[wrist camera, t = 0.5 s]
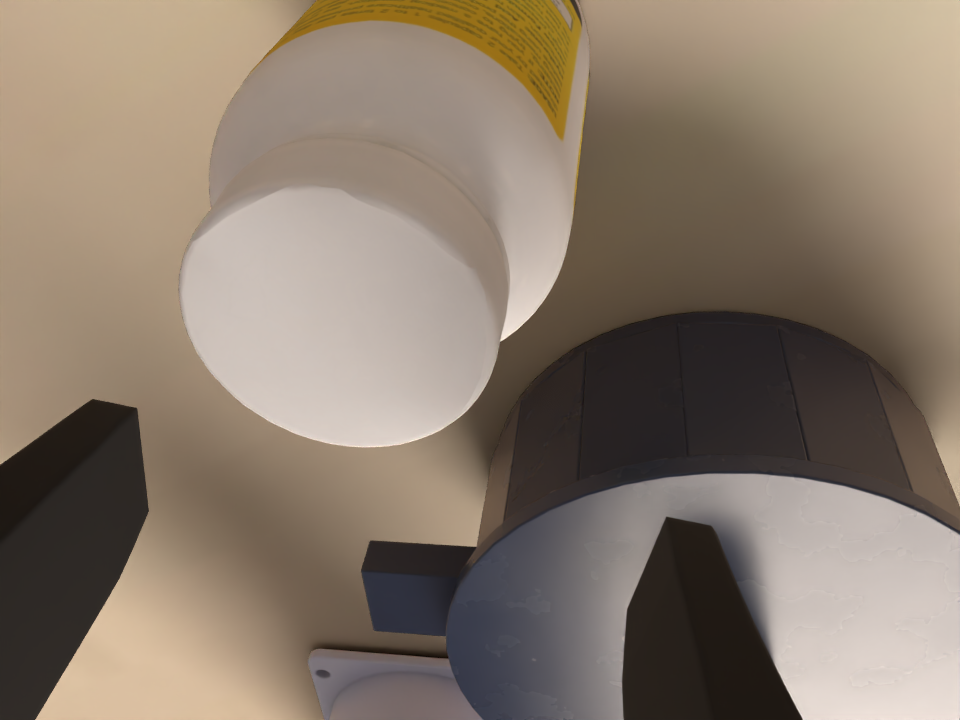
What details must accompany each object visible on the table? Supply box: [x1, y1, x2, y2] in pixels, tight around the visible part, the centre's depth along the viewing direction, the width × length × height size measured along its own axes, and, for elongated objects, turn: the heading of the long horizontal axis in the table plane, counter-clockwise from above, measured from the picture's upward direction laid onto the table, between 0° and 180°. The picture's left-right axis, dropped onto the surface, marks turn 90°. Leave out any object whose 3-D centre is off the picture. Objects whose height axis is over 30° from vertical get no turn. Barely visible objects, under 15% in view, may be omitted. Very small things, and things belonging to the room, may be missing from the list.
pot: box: [361, 312, 960, 636], centre depth 23 cm, size 12×17×6 cm
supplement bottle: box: [179, 0, 590, 447], centre depth 15 cm, size 5×5×10 cm
